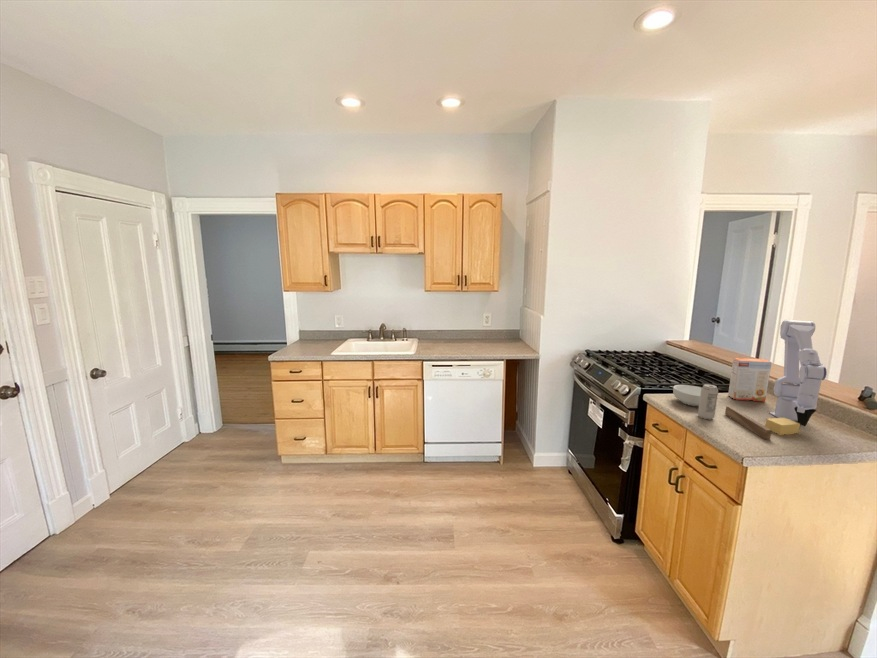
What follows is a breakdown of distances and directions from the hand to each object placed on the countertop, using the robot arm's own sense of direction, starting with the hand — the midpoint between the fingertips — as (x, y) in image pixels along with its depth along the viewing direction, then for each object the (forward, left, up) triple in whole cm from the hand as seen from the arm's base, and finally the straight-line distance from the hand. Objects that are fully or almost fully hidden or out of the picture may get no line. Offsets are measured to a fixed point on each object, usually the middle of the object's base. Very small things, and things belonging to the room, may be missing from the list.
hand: (801, 425), depth 148 cm
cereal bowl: (+28, -27, -3) cm, 39 cm away
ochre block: (+7, 0, -3) cm, 8 cm away
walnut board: (+19, -3, -3) cm, 19 cm away
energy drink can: (+31, -10, -3) cm, 32 cm away
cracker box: (-3, -37, -3) cm, 37 cm away
